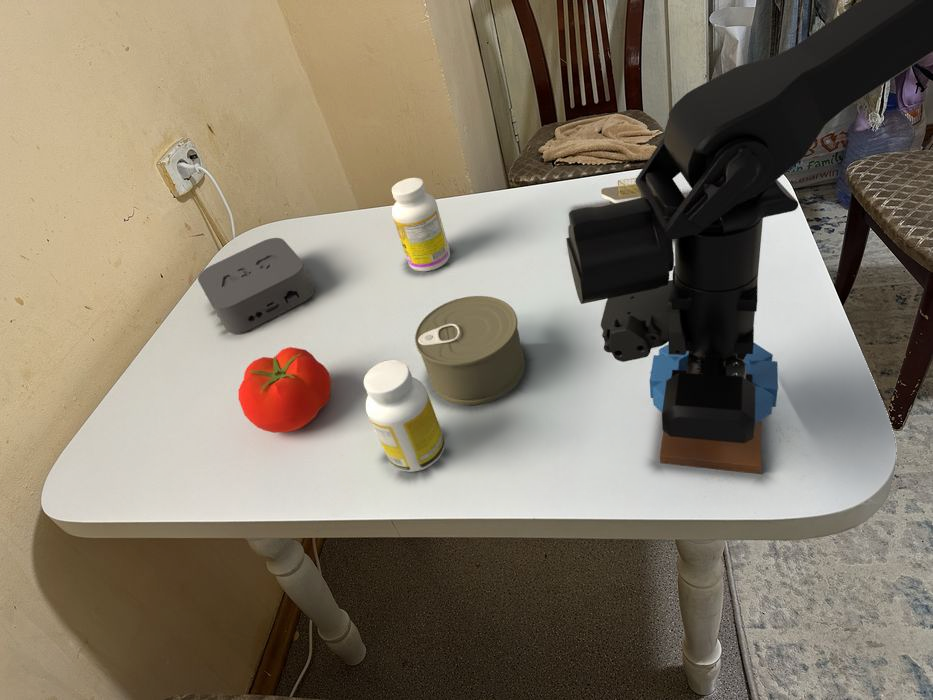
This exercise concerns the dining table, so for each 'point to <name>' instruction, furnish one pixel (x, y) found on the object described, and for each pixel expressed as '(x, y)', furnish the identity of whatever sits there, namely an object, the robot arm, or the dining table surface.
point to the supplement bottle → (419, 225)
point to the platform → (621, 193)
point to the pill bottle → (403, 416)
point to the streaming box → (256, 284)
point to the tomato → (284, 390)
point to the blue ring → (755, 365)
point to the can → (471, 349)
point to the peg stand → (714, 453)
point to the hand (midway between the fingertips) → (710, 413)
